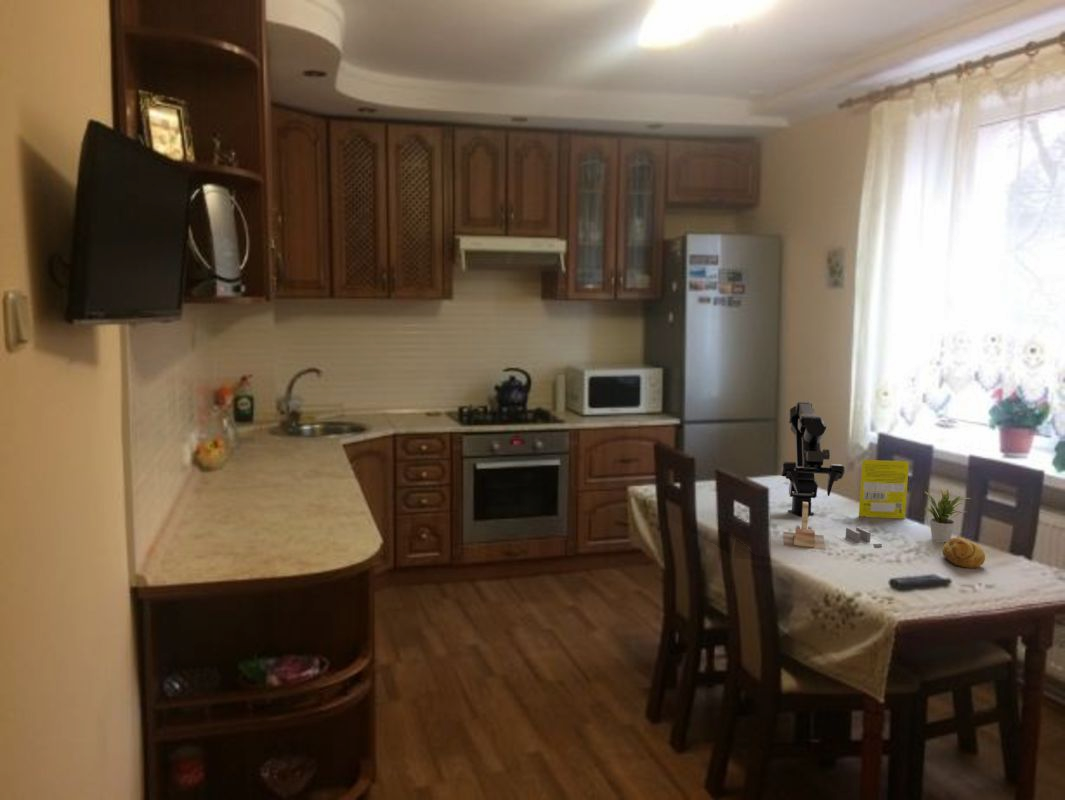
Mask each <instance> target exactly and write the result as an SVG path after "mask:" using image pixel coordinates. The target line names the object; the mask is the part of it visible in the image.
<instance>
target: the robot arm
mask: <svg viewBox="0 0 1065 800" xmlns="http://www.w3.org/2000/svg"><path fill="white" fill-rule="evenodd" d="M787 419H788V420H787V421H788V424H789V425H790V427H789V428H790V431H791V432H792V433H793V434H794V437H795V438H794V440H795V441H794V442H795V444H794V445H795V462H793V461H784V462H782V465H781V473H780V474H781V476H782V477H785V479H788V480H789V486H788V495H789V497H790V498H792V499H791V509H788V510H787V511H788V512H789V513H790V514H793V515H796V516H798V517H802V509H803V502H808V516H813V515H815V512H812V499H816V498H817V493H818V489H819V484H818V483H817V480H816V479H815V474H824V475H827V474H828V478H827V489H826V491H827V497H830V495H831V492H832V488H833V486H834V482H837V481H838V480H841V479H842V478H843V477H844V474H845V466H844V465H843V464H842V463H841V464H840V463H838V464H837V463H830V466H829V467H823V465H824V461H829V460H830V456H831V455H830V454H831V453H830V449H825V448H824V449H822V450H821V442H822V440H823V438H824V435H825V431H826V430H827V425H826V424H825V422H824V420H823V419H822V417H821V415H819V414H815V410H814V408H813V404H812V403H811V402H809V401H807V402H806V401H805V402H804V401H799V402H796V404H795V405H794V406H793V407H790V409H789V411H788V417H787Z"/></svg>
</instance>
